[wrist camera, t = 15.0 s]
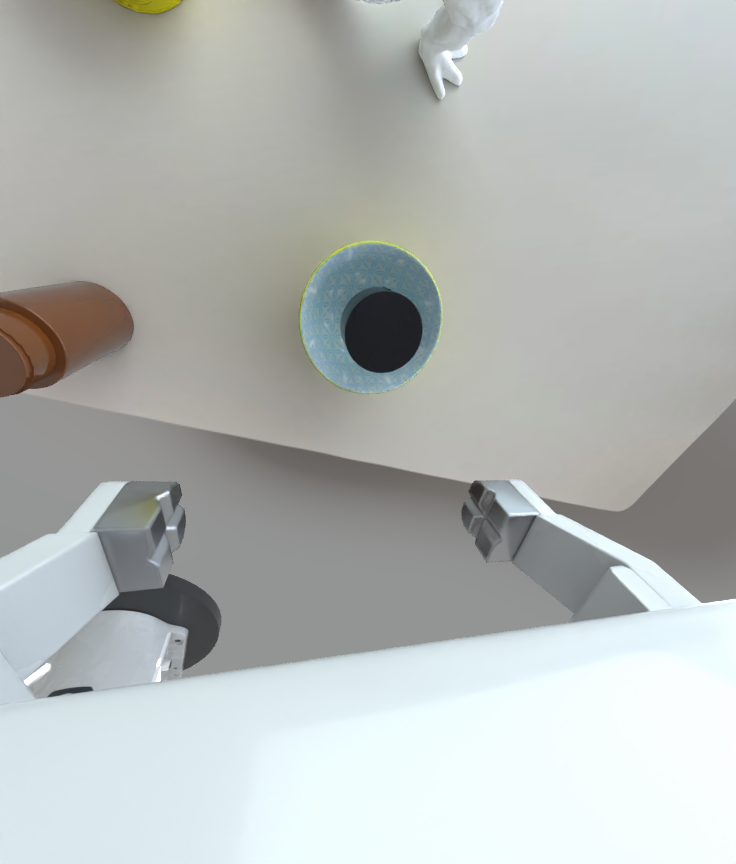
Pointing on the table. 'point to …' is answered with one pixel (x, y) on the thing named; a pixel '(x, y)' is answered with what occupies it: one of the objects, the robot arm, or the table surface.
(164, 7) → the bracelet
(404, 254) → the bowl
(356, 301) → the lid
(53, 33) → the table surface
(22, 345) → the jar
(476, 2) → the dinosaur figurine
